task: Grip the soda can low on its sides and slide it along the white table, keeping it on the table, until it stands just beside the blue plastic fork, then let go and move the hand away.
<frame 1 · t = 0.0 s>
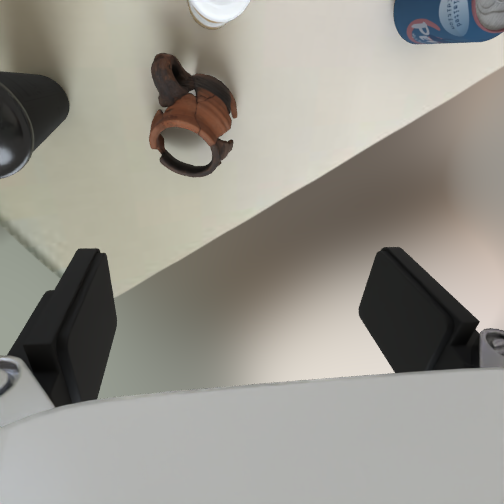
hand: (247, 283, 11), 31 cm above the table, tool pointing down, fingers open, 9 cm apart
sprinkles bottle: (210, 3, 32), on the table
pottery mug: (190, 110, 37), on the table
drinking cup: (44, 100, 34), on the table
soda can: (417, 6, 35), on the table
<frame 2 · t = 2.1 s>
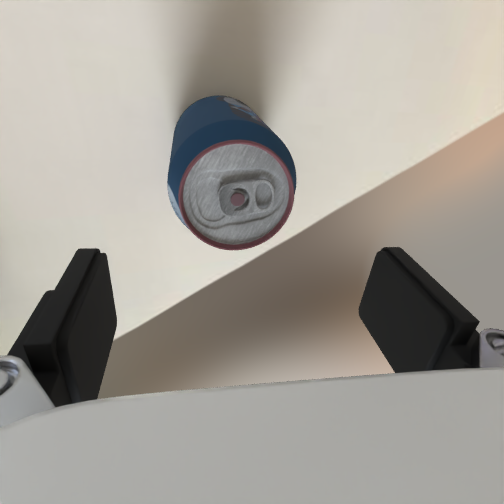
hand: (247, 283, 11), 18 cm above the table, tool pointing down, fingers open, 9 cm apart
soda can: (218, 140, 26), on the table
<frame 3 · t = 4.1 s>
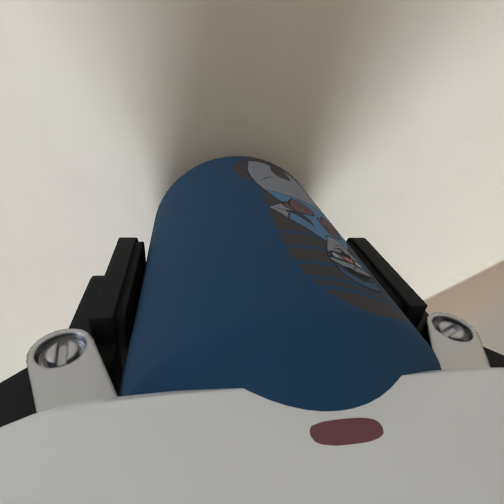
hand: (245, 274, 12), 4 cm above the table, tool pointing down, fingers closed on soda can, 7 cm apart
soda can: (232, 220, 16), on the table, touching gripper
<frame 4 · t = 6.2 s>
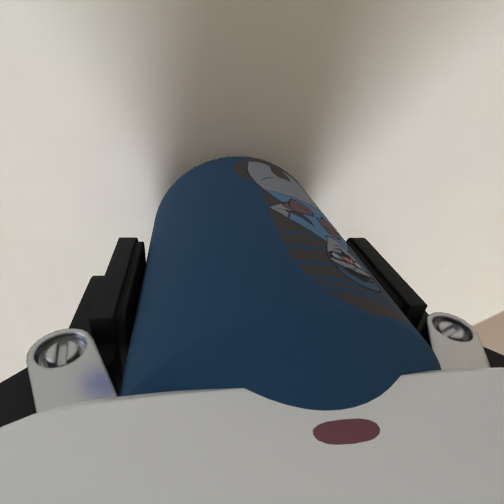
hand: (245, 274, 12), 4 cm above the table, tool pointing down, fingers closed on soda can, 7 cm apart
soda can: (232, 220, 16), on the table, touching gripper
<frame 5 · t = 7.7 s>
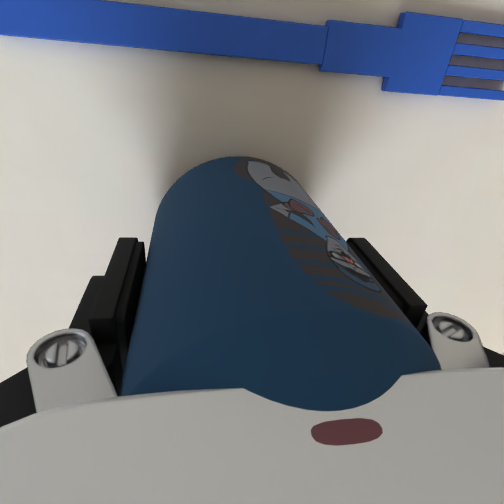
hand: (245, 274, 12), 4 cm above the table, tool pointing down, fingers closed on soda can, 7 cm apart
soda can: (232, 220, 16), on the table, touching gripper
blue fork: (296, 43, 12), on the table
when the fingers open (4 cm above the table, at t = 8.6 s): soda can stays where it is, on the table.
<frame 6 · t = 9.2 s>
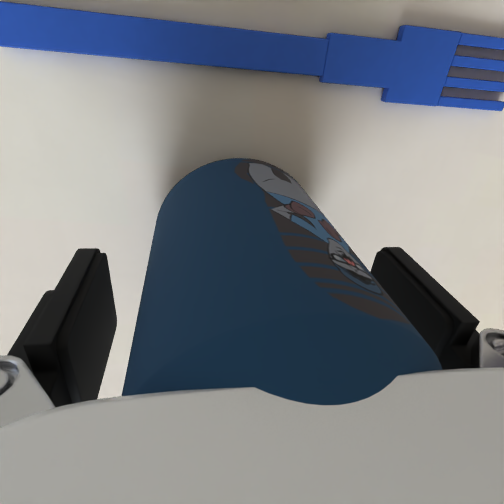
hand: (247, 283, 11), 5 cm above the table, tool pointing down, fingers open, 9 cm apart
soda can: (233, 222, 16), on the table
blue fork: (297, 55, 12), on the table
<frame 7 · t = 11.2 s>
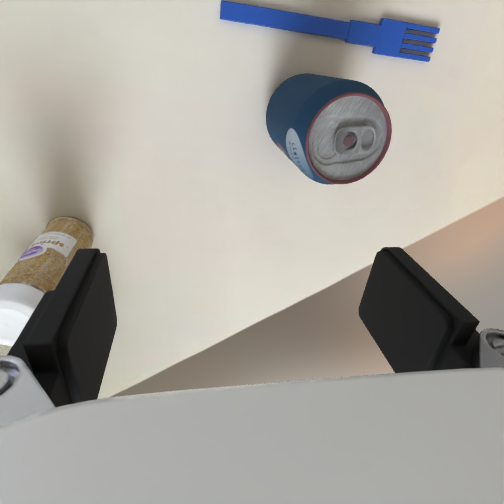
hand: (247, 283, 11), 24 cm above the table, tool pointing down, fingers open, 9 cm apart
sprinkles bottle: (71, 234, 34), on the table
soda can: (298, 113, 32), on the table
blue fork: (336, 29, 28), on the table
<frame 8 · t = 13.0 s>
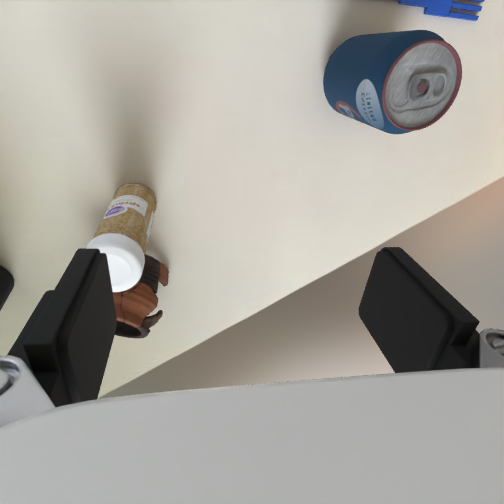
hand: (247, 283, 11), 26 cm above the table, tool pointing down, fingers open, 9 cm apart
sprinkles bottle: (135, 201, 36), on the table
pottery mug: (126, 275, 41), on the table
soda can: (351, 76, 33), on the table
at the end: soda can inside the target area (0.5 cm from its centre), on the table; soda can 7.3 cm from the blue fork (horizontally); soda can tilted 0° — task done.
